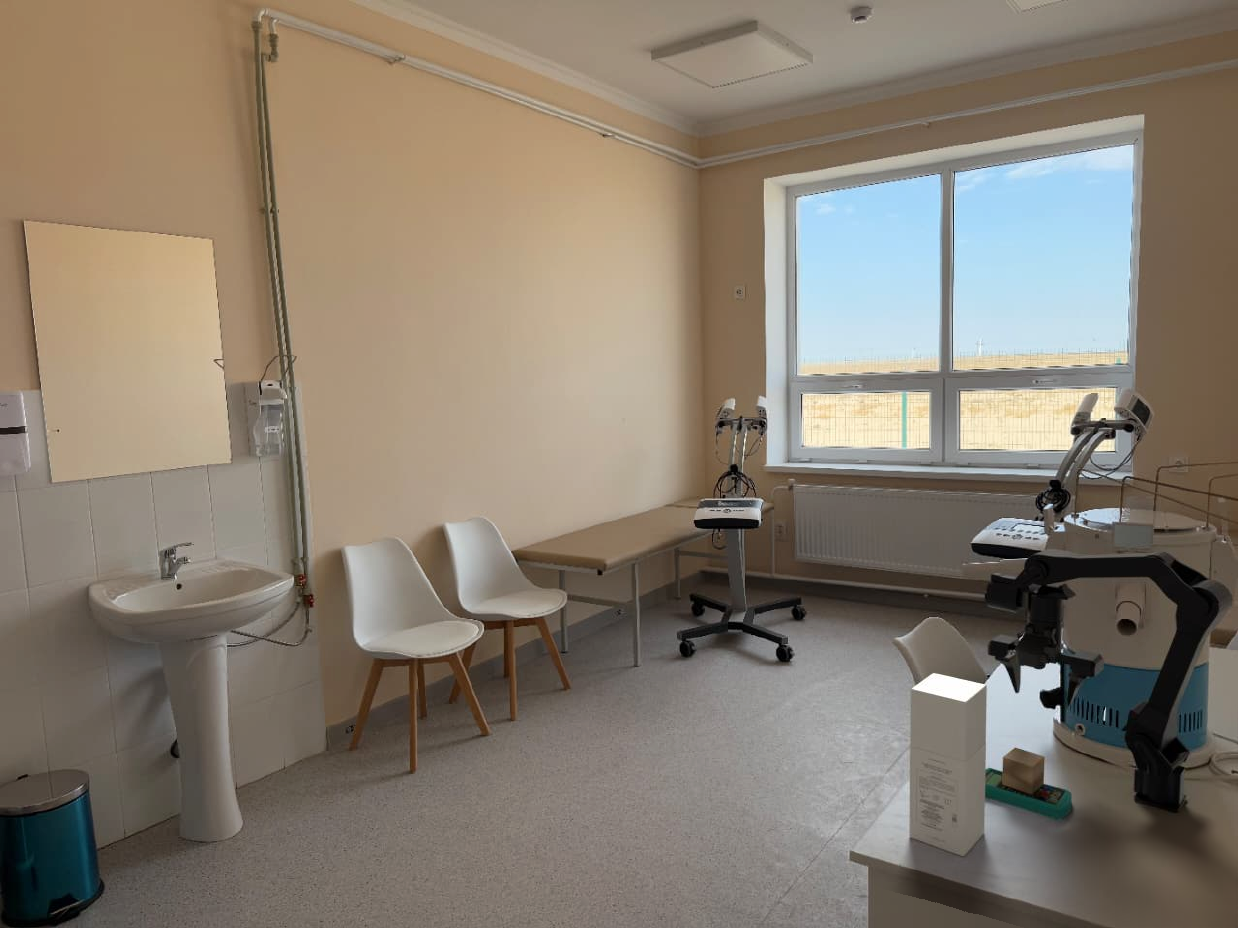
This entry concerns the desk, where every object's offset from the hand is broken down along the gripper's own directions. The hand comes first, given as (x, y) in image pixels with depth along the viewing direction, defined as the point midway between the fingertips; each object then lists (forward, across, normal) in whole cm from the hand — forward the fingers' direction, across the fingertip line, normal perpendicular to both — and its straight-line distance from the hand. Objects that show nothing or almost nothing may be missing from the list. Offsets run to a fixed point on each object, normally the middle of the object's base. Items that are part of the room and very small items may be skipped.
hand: (1042, 698), depth 161 cm
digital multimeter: (+13, +2, -16) cm, 21 cm away
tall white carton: (+12, -2, -36) cm, 38 cm away
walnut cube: (+10, +2, -16) cm, 19 cm away
